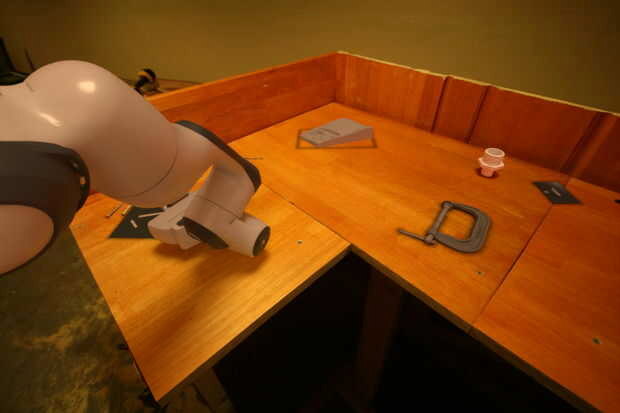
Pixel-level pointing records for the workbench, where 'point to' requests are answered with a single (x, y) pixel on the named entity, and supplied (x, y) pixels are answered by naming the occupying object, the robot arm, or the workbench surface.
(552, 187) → the solid state drive
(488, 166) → the pipe fitting
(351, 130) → the ramp
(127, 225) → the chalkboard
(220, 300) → the workbench surface
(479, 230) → the c clamp
